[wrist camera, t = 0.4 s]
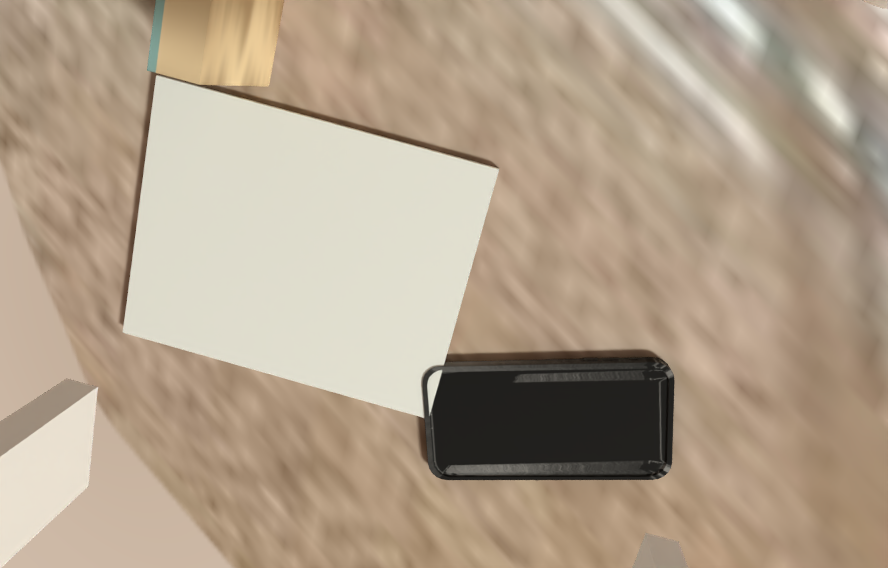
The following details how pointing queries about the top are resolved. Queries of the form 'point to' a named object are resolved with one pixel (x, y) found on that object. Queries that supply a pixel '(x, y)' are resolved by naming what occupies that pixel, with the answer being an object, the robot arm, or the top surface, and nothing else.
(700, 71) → the top surface
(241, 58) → the tile
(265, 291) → the mat
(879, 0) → the alcohol
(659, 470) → the phone
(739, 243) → the top surface
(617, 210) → the top surface
